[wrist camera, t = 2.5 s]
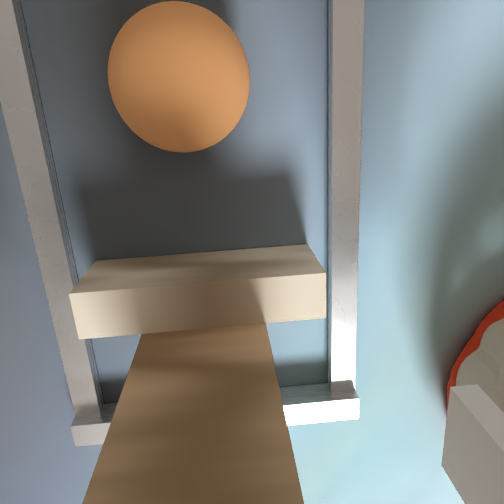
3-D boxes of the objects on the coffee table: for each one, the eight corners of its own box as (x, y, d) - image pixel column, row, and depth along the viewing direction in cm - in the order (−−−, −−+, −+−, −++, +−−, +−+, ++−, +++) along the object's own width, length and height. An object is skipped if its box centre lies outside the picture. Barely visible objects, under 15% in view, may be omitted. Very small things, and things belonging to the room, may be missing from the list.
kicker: (120, 386, 18) (-74, 920, 6) (96, 260, 16) (-250, 677, 4) (309, 368, 18) (471, 837, 6) (307, 244, 16) (528, 583, 5)
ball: (134, 150, 15) (104, 164, 11) (116, 21, 13) (74, -15, 9) (249, 143, 15) (259, 154, 11) (242, 15, 13) (250, -23, 10)
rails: (84, 425, 18) (75, 446, 17) (-50, -155, 12) (-79, -184, 10) (350, 399, 19) (358, 418, 17) (362, -167, 12) (377, -196, 11)
